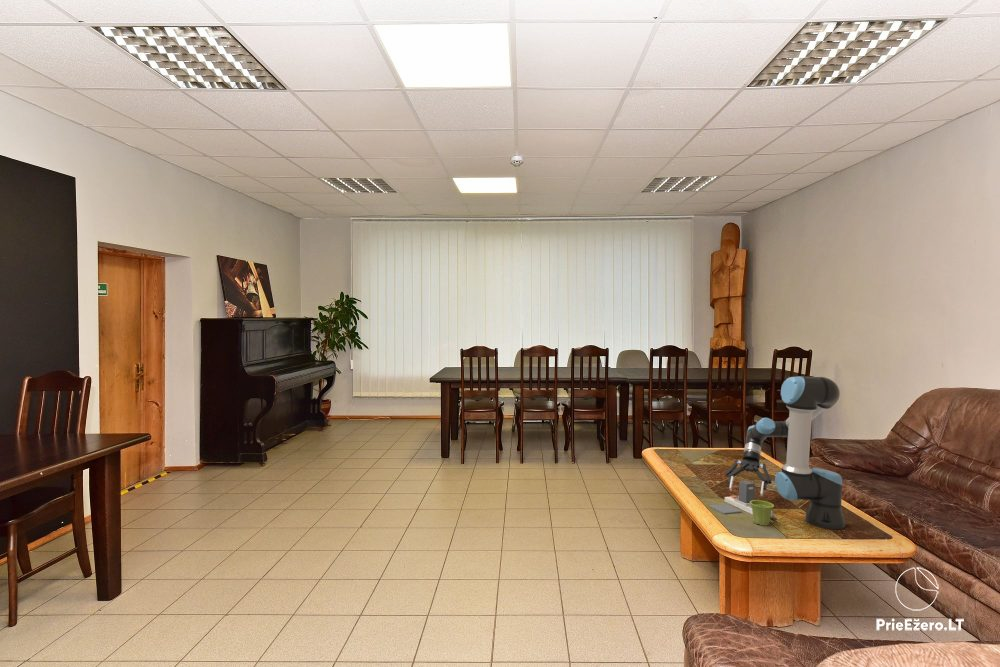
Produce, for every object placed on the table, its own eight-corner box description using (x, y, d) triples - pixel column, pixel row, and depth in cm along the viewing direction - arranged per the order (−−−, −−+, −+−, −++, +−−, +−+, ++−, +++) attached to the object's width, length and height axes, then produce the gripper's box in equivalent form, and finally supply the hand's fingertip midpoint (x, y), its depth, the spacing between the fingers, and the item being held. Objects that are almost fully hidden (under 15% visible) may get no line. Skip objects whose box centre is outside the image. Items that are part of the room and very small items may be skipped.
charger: (754, 504, 255) (755, 483, 254) (746, 505, 253) (746, 484, 253) (746, 501, 259) (747, 480, 259) (738, 502, 258) (739, 481, 258)
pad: (741, 512, 250) (741, 511, 250) (723, 514, 247) (723, 513, 247) (726, 505, 259) (726, 503, 259) (709, 506, 256) (709, 505, 256)
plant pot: (745, 518, 242) (746, 499, 242) (767, 519, 241) (767, 500, 241) (754, 526, 232) (755, 506, 232) (777, 527, 232) (777, 507, 232)
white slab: (783, 520, 240) (783, 513, 240) (768, 522, 238) (768, 515, 238) (738, 499, 267) (738, 493, 267) (724, 501, 265) (724, 494, 265)
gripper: (780, 462, 264) (775, 501, 252) (726, 454, 278) (718, 491, 266) (779, 453, 259) (774, 493, 247) (724, 446, 273) (717, 483, 261)
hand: (745, 492), depth 257 cm, fingers open, 13 cm apart
